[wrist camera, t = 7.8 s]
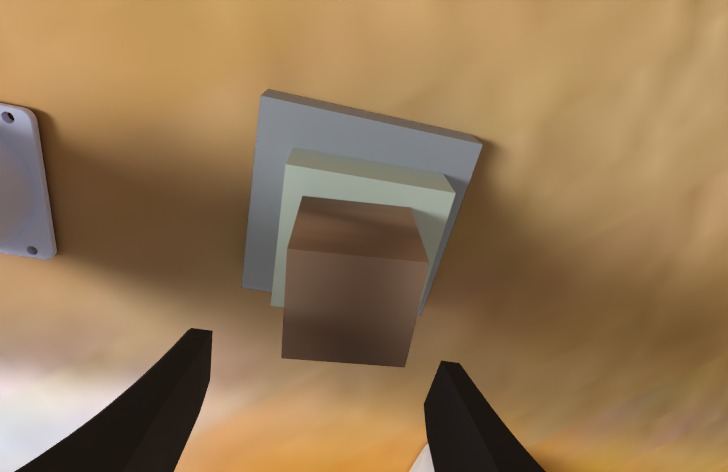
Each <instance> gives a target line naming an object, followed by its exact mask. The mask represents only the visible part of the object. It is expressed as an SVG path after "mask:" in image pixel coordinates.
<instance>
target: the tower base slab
mask: <svg viewBox="0 0 728 472" xmlns="http://www.w3.org/2000/svg"><path fill="white" fill-rule="evenodd" d="M482 146H483V144H482V143H481V142H480V141H478V140H477V139H476V138H475V137H474V136H473V135H471V134H466V133H462V132H458V131H453V130H449V129H444V128H440V127H435V126H431V125H426V124H422V123H417V122H413V121H408V120H404V119H400V118H395V117H391V116H386V115H382V114H377V113H373V112H368V111H364V110H359V109H355V108H350V107H346V106H342V105H337V104H333V103H328V102H324V101H319V100H315V99H310V98H306V97H301V96H297V95H292V94H288V93H284V92H279V91H275V90H270V89H268V90H266V91H265V92H264V93H263V94H262V95H261V96H260V106H259V116H258V126H257V136H256V146H255V156H254V166H253V176H252V186H251V196H250V206H249V216H248V226H247V236H246V246H245V256H244V266H243V276H242V285H241V288H246V289H252V290H258V291H265V292H271V293H272V287H273V277H274V268H275V258H276V249H277V240H278V230H279V221H280V211H281V202H282V192H283V183H284V173H285V164H286V162H287V160H288V157H289V155H290V153H291V151H292V148H293V147H294V148H300V149H306V150H311V151H317V152H323V153H329V154H334V155H340V156H346V157H351V158H357V159H363V160H368V161H374V162H380V163H386V164H391V165H397V166H403V167H408V168H414V169H420V170H426V171H431V172H437V173H443V175H444V176H445V178H446V179H447V181H448V182H449V184H450V185H451V187H452V188H453V190H454V191H455V193H456V194H455V197H454V200H453V203H452V206H451V209H450V213H449V216H448V219H447V222H446V225H445V228H444V232H443V235H442V238H441V241H440V244H439V247H438V251H437V254H436V257H435V260H434V263H433V266H432V269H431V273H430V276H429V279H428V282H427V285H426V288H425V292H424V295H423V298H422V301H421V304H420V307H419V311H418V314H417V315H420V316H421V314H422V311H423V308H424V306H425V303H426V300H427V297H428V295H429V292H430V289H431V286H432V284H433V281H434V278H435V275H436V273H437V270H438V267H439V264H440V262H441V259H442V256H443V253H444V251H445V248H446V245H447V242H448V240H449V237H450V234H451V231H452V229H453V226H454V223H455V220H456V218H457V215H458V212H459V209H460V207H461V204H462V201H463V198H464V196H465V193H466V190H467V187H468V185H469V182H470V179H471V176H472V174H473V171H474V168H475V165H476V163H477V160H478V157H479V154H480V152H481V149H482Z"/></svg>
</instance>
